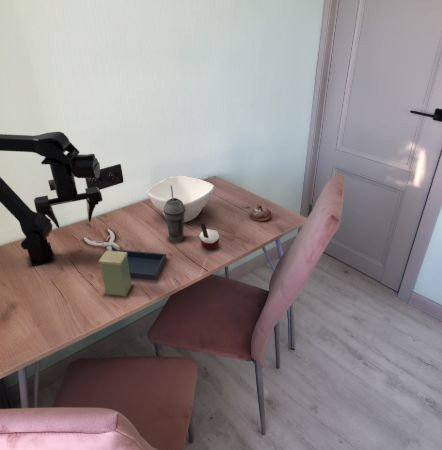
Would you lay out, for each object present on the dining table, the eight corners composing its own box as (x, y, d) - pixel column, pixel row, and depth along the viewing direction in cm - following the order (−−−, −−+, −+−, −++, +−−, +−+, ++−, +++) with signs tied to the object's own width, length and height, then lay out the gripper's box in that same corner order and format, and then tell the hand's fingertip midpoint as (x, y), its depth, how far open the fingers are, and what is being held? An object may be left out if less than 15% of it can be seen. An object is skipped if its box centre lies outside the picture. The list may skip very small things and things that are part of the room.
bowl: (222, 211, 159) (221, 184, 152) (188, 236, 143) (187, 207, 137) (177, 198, 169) (175, 172, 163) (141, 220, 153) (138, 192, 147)
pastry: (246, 216, 155) (247, 204, 153) (260, 210, 160) (260, 198, 157) (262, 223, 150) (262, 212, 148) (275, 217, 155) (276, 205, 152)
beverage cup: (170, 246, 137) (166, 193, 127) (163, 236, 143) (158, 185, 132) (190, 241, 140) (187, 188, 129) (182, 231, 146) (178, 180, 135)
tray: (156, 281, 121) (155, 275, 120) (107, 276, 123) (106, 270, 122) (166, 260, 130) (165, 253, 129) (121, 255, 133) (120, 249, 131)
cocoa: (212, 238, 141) (212, 208, 135) (225, 245, 138) (225, 214, 131) (192, 249, 136) (190, 218, 129) (204, 256, 132) (204, 225, 126)
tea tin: (126, 297, 115) (120, 262, 108) (105, 295, 116) (98, 260, 109) (132, 285, 119) (127, 252, 113) (112, 283, 120) (106, 250, 114)
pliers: (108, 226, 146) (128, 243, 136) (109, 230, 147) (129, 247, 137) (82, 235, 141) (101, 254, 131) (83, 239, 141) (102, 258, 132)
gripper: (91, 163, 126) (99, 207, 134) (27, 173, 119) (40, 219, 127) (98, 175, 117) (106, 222, 125) (29, 187, 110) (43, 235, 119)
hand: (74, 224), depth 124 cm, fingers open, 9 cm apart
